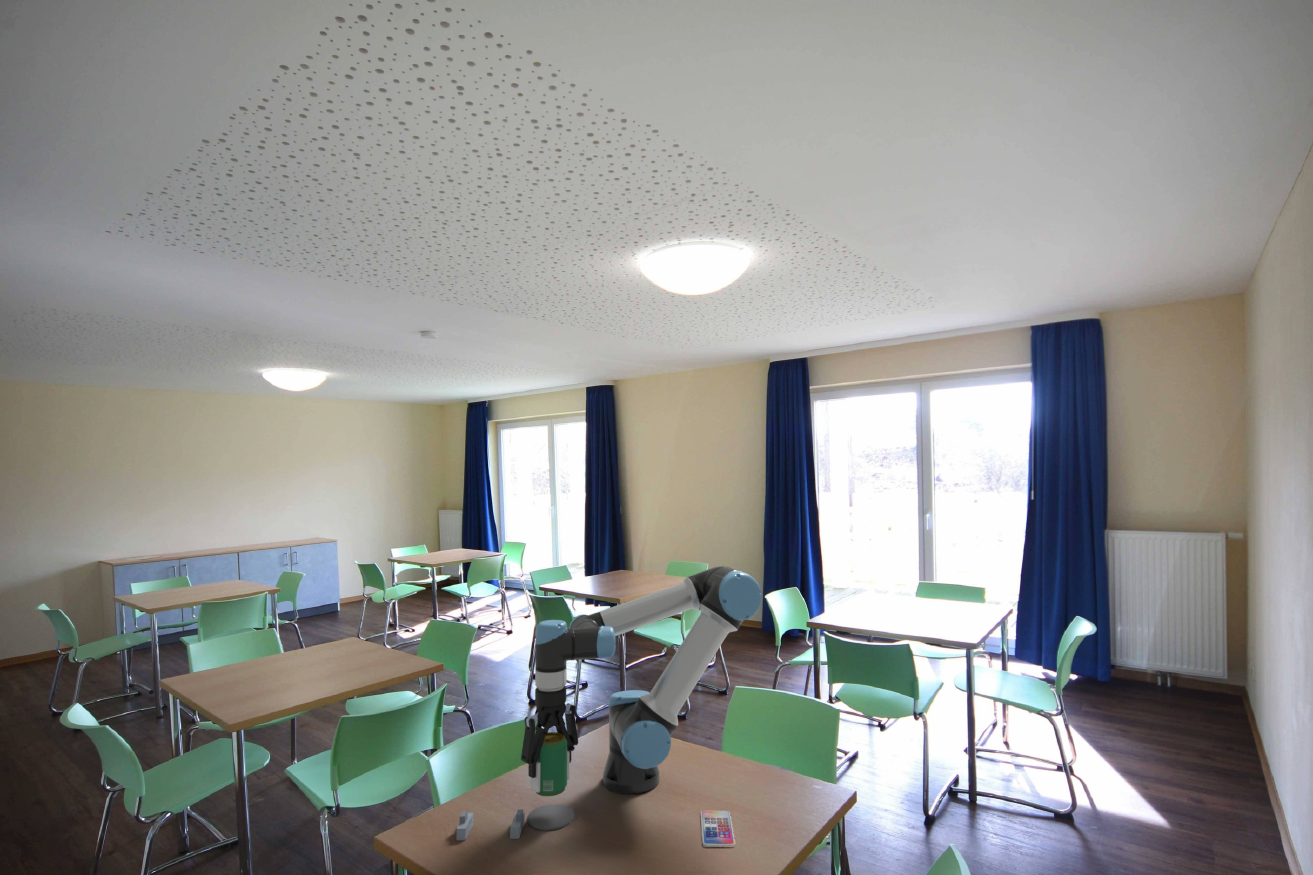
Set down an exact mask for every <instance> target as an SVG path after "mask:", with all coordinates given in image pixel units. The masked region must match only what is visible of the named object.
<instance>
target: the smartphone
mask: <svg viewBox="0 0 1313 875" xmlns="http://www.w3.org/2000/svg"><path fill="white" fill-rule="evenodd" d="M730 814H731V812H730V811H728V810H708V809H707V810H705V809H704V810H701V811H700V816H701V817H700V830H701V831H700V832H701V833H700V834H701V835H700V836H701V844H703V845H702V847H704V848H706V847H719V846H722V847H725V846H734V844H735V845H736V838H735V839H734V837H735V833H733V832H734V828H733V827H732V826H733V822H732V821H731V820H732V815H731V816H730Z"/></svg>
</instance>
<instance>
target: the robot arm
mask: <svg viewBox="0 0 1313 875" xmlns="http://www.w3.org/2000/svg"><path fill="white" fill-rule="evenodd" d="M761 590H762V589H761V587H760V585H759V583H758V581H757V580H756V579H755V578H754V577H753V576H752V575H750V574H748V573H746V572H744V571H743V570H738V569H734V568H732V567H730V566H729V567H728V566H724V565H721V566H715V567H712V568H709V569H705V570H703V571H701V572H697V573H694V574H692V575H689V576H687V577H685V578H684V580H683V582H681V583H678V584H675V585H673V586H669V587H667V588H666V587H665V588H663V589H661V590H658V591H654V592H652V593H649V594H646V595H644V596H640V597H637V598H635V599H632V600H629V601H627V602H623V603H620V604H617V605H615V606H612V607H608V608H605V609H603V610H600V611H598V612H595V613H594V612H593V613H591V614H585V613H584V614H578V615H576V616H575V617H574V618H573V619H572V620H571V621H570V623H569V628H568V625H567V622H566V621H565V620H561V619H547V620H542V621H540V622H539V623H537V625H536V627H535V640H534V642H535V643H534V646H535V647H534V648H535V654H534V657H535V661H534V662H535V666H534V667H535V673H534V674H535V682H534V683H535V687H536V688H535V690H534V703H535V706H536V708H535V711H534V715H532V716H525V717H524V726H525V728H524V736H523V741H522V742H523V743H522V749H521V756H520V760H521V761H522V762H524V763H525V764H528V777H529V778H530V790H532V791H534V792H535V793H536V792H537V793H538V792H540V762H537V761H538V758H539V755H540V752H541V748H542V745H543V742H544V739H545V736H546V734H547V733H548V732H549V731H550V729H551V728H552V727H555V730H556V732H558V733H560V734H562V735H564V736H565V739H566V740H567V781H568V780H570V763H572V752H573V751H575V748H576V747H575V746H578V745H579V738H578V729H577V720H576V705H574V704H572V703H568V702H567V686H566V685H567V682H568V680H567V679H568V678H567V675H568V674H567V661H583V660H595V659H596V660H597V659H599V660H603V659H606V658H611V657H613V656H614V655H615V653H616V646H617V645H616V643H617V642H616V636H619V635H623V634H625V633H628V632H630V631H634V630H636V629H639V628H641V627H644V626H647V625H651V624H653V623H654V624H655V623H656V622H658V621H661V620H665V619H667V618H669V617H672V616H676V615H679V614H681V613H682V614H683V613H685V612H688V611H689V610H694V611H696V612H698V611H700V615H699V616H698V617H697V619H696V620H695V622H694V624H693V625H692V627H691V628H690V630H689V632H688V633H687V635H686V636H685V638H684V640H682V642H681V644H680V646H679V647H678V648H677V650H676V652H675V653H674V655H673V656H672V658H671V660H670V661H669V663H668V664H667V665H666V667H665V668H664V670H663V672H662V673H661V675H660V677H659V678H658V680H657V681H656V682H655V684H654V686H653V688H652V689H651V691H650V692H649V691H646V690H642V689H641V690H640V689H639V690H638V689H634V690H633V689H631V690H630V689H629V690H622V691H617V692H615V693H613V694H610V696H609V699H608V720H609V722H608V727H609V728H608V730H609V731H608V732H609V733H608V734H609V736H608V738H609V740H608V741H609V744H608V745H609V746H608V747H609V750H608V751H609V752H608V755H607V759H606V762H605V765H604V769H603V773H602V783H603V785H604V787H605V788H606V789H607V790H609V791H612V792H615V793H618V794H625V795H629V794H630V795H631V794H641V793H645V792H649V791H651V790H652V789H654V788H655V787H657V786H658V785H659V783H660V769H659V765H661V764H662V763H663V762H664V761H665V760H666V759H667V757H668V756H669V754H670V752H671V747H672V738H671V737H672V735H673V734H674V733H675V731H676V729H677V728H678V726H679V720H678V714H679V713H680V711H681V709H682V708H683V706H684V704H685V703H686V701H687V700H688V698H689V696H690V695H691V694H692V692H693V690H694V689H695V687H696V685H697V684H698V682H699V680H700V679H701V677H702V676H703V674H704V672H705V671H706V670H707V668H708V666H709V665H710V664H711V661H712V659H713V658H714V656H716V653H718V651H719V649H720V647H721V646H722V644H723V642H724V641H725V639H726V638H727V636H728V635H729V633H732V632H733V633H734V632H737V631H738V630H739V628H740V627H741V626H742V623H743V622H744V621H747V620H748V619H751V618H752V617H754V616H755V615H756V614H757V613H758V611H759V610H760V608H761V604H762V598H763V597H762V591H761ZM566 702H567V703H566ZM564 716H565V717H564ZM564 719H565V720H564ZM537 793H536V794H537Z"/></svg>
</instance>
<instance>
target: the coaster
mask: <svg viewBox="0 0 1313 875" xmlns="http://www.w3.org/2000/svg"><path fill="white" fill-rule="evenodd" d="M574 818H575V811H574V810H573V808H572V807H570V806H568V805H566V804H560V803H550V804H544V805H540V806H538V807H536V808H534V809H532V810H531V811H530V812H529V813H528V815H527V824H528V825H529V827H531V828H533V829H535V830H538V831H546V832H548V831H554V830H559V829H562V828H565V827H567V826H569V825H570V824H572V822H573V821H574Z"/></svg>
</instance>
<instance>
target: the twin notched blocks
mask: <svg viewBox="0 0 1313 875" xmlns="http://www.w3.org/2000/svg"><path fill="white" fill-rule="evenodd" d="M525 811H526V810H524V809H523V808H522V809H517V811H515V813H514V816H513V819H512V821H511V824H510V826H509V827H510V828H509V833H510V834H509V839H510V840H514V839H515V840H517V839H520V837H521V835H522V831H523V828H524V824H525V822H526V819H525V818H526V816H525V815H526V813H525ZM474 818H475V817H474V812H469V811H468V810H463V811H461V813H460V815H459V823H458V825H457V826H456V827H457V828H456V841H466V840H467V838H468V835H469V834H470V832H471V829H472V828H473V826H474V824H475V823H474V820H475V819H474Z"/></svg>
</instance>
